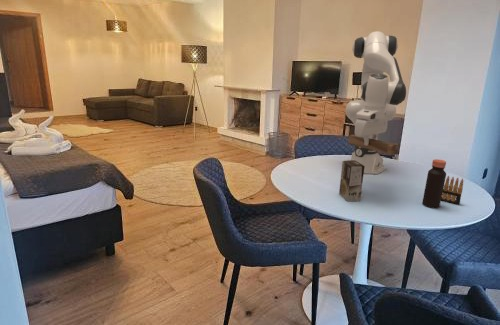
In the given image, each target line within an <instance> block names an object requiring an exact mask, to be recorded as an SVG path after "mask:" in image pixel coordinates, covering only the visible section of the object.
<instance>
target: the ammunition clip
mask: <svg viewBox="0 0 500 325" xmlns="http://www.w3.org/2000/svg"><path fill="white" fill-rule="evenodd" d="M454 177H455V176H452V177H451V178H450V175H448V176H446V178H445V183H444V188H443V193H442V197H441V202H443V203H447V204H450V205H451V204H452V205H456V206H460V204H461V197H462V193H463V188H464V178H461V180H460V182H459V177H457V178H456V179H455V178H454Z"/></svg>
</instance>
